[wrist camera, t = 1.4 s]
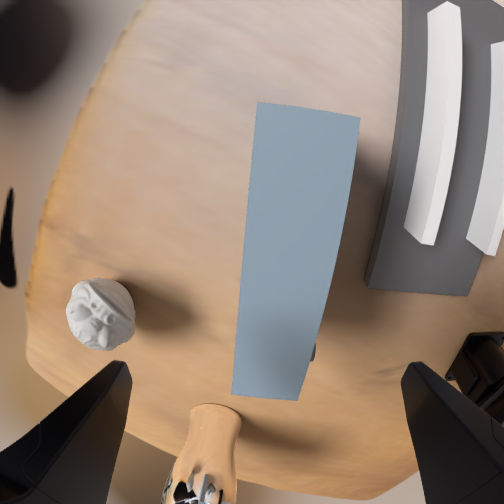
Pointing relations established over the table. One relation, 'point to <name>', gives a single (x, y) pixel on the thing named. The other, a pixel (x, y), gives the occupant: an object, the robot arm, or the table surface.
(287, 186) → the door
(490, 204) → the hinge frame
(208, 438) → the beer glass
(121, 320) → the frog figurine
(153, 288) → the table surface
